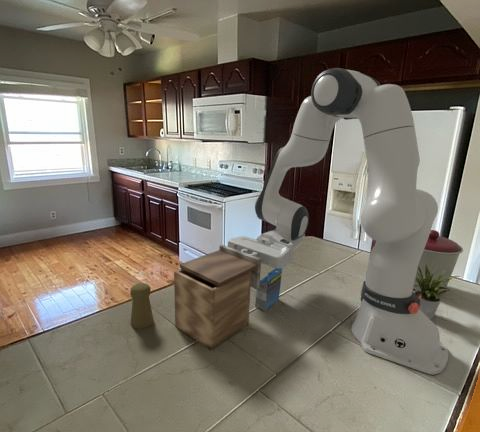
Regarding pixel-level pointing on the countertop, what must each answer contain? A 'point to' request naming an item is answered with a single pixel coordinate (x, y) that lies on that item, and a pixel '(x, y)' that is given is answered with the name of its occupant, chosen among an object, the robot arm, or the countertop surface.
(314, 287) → the countertop surface
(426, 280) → the house plant
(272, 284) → the label tape box
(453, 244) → the canister
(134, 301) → the cork
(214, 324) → the storage box
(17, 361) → the countertop surface
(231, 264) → the sliding lid
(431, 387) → the countertop surface
